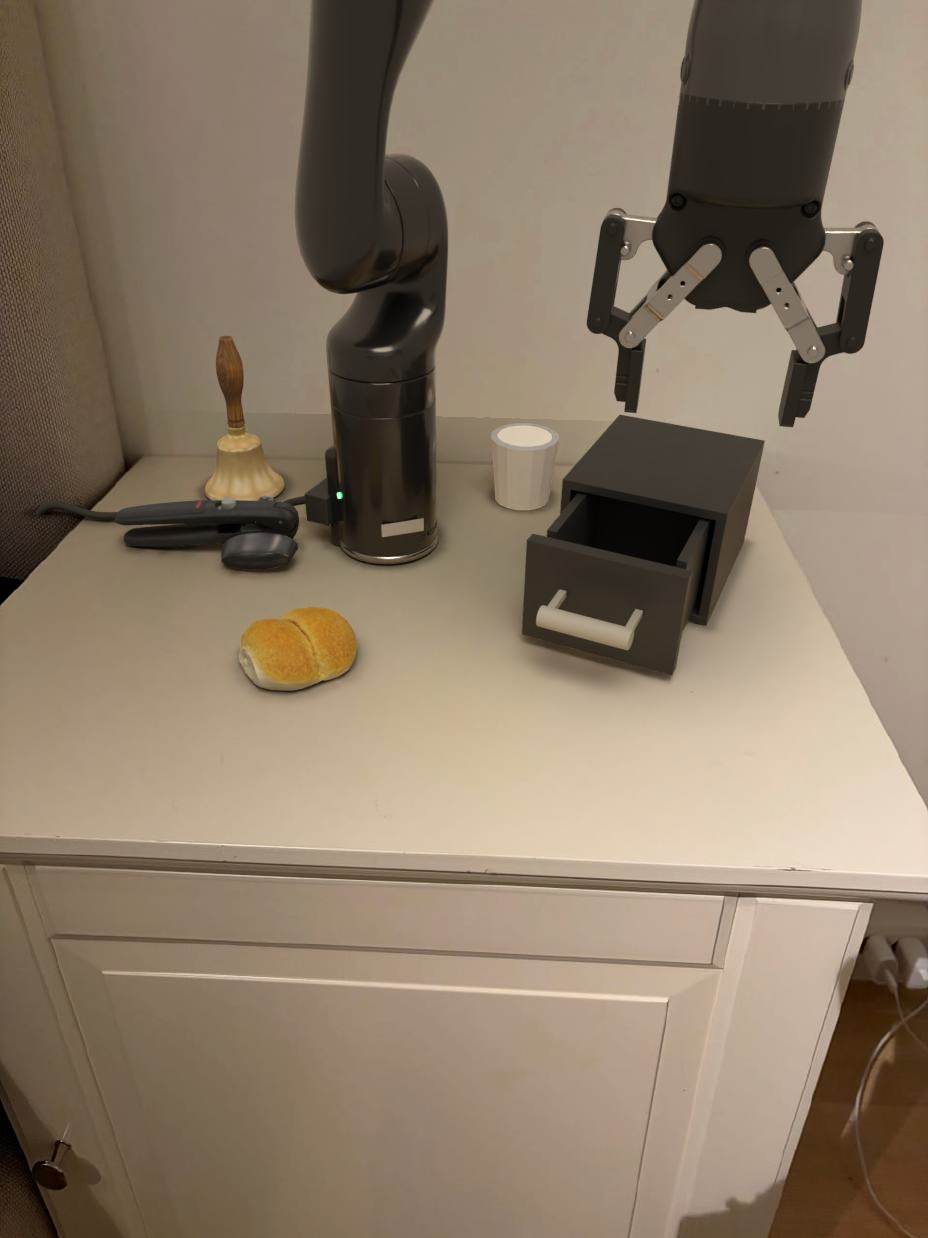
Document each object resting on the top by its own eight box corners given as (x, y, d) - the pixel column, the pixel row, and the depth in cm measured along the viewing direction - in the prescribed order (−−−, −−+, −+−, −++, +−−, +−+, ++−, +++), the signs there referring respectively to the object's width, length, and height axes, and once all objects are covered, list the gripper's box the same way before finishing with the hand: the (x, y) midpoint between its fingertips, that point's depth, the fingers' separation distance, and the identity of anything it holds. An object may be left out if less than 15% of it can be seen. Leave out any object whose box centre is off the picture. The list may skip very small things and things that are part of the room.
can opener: (313, 541, 89) (308, 488, 86) (290, 579, 83) (284, 523, 80) (140, 524, 91) (128, 472, 88) (105, 560, 86) (92, 506, 82)
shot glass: (550, 516, 93) (554, 452, 90) (483, 509, 95) (484, 445, 91) (558, 486, 99) (563, 424, 95) (494, 480, 100) (497, 419, 96)
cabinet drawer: (656, 710, 67) (672, 609, 62) (499, 664, 72) (503, 567, 67) (714, 584, 82) (732, 494, 77) (581, 553, 86) (589, 465, 81)
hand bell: (206, 474, 101) (182, 326, 92) (284, 468, 102) (267, 322, 93) (202, 509, 94) (176, 354, 85) (286, 503, 95) (268, 349, 86)
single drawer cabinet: (706, 626, 78) (727, 513, 72) (554, 587, 83) (562, 479, 77) (743, 542, 90) (764, 440, 84) (608, 513, 94) (619, 414, 88)
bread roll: (375, 668, 73) (373, 626, 70) (268, 708, 69) (262, 665, 66) (328, 618, 78) (324, 577, 76) (226, 651, 74) (220, 610, 72)
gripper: (910, 84, 45) (831, 402, 54) (616, 74, 48) (588, 380, 57) (939, 100, 39) (845, 455, 48) (601, 88, 42) (573, 428, 51)
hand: (706, 414), depth 53 cm, fingers open, 8 cm apart
